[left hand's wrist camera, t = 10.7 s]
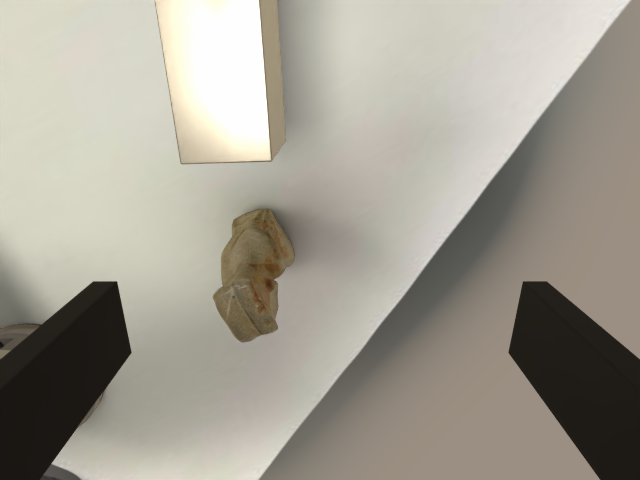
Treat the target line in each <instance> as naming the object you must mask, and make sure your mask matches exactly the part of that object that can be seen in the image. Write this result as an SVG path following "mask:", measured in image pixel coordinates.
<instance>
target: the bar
mask: <svg viewBox="0 0 640 480" xmlns="http://www.w3.org/2000/svg"><path fill="white" fill-rule="evenodd" d="M155 6H156V12H157V18H158V24H159V31H160V37H161V43H162V49H163V56H164V62H165V68H166V74H167V81H168V87H169V93H170V99H171V106H172V112H173V118H174V124H175V131H176V137H177V143H178V149H179V156H180V162H181V164H206V163H237V162H269V161H272V160H273V159H274V157H275V156H276V154H277V153H278V151H279V150H280V148H281V147H282V145H283V144H284V143H285V141H286V134H285V118H284V102H283V85H282V69H281V53H280V37H279V21H278V5H277V0H155Z"/></svg>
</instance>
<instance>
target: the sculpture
mask: <svg viewBox="0 0 640 480" xmlns="http://www.w3.org/2000/svg"><path fill="white" fill-rule="evenodd" d="M294 258H295V255H294V250H293V247H292V245H291V243H290V241H289V239H288V237H287V236H286V234H285V233H284V231H283V230H282V228H281V227H280V226H279V224H278V223H277V221H276V219H275V217H274V215H273V213H272V211H271V210H270V209H264V210H263V209H258V210H255V211H252V212H249V213H246V214H244V215H242V216H240V217H238V218H236V219H234V221H233V224H232V238H231V239H230V241H229V242H228V244H227V245H226V247H225V248H224V250H223V252H222V256H221V276H222V284H223V287H221V288H220V289H218V290H217V291H216V293H215V294H214V296H213V299H214V301H215V304H216V307H217V310H218V312H219V313H220V315H221V317H222V318H223V320H224V321H225V322H226V324H227V325H228V327H229V328H230V330H231V332H232V333H233V335H234V336H235V337H236V338H237V339H238V340H239V341H241V342H248V341H252V340H253V339H255V338H256V337H258V336H260V335H264V334H269V333H272V332H274V331H276V330H277V329H278V326H277V324H276V321H275V318H276V314H277V310H278V299H277V292H278V283H277V282H276V281H274V279H276V278H278V277H279V276H280V275H281V274H282V273H283V272H284V270H285V267H288V266H290V265H291V264H292V263H293V261H294Z"/></svg>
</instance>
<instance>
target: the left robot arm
mask: <svg viewBox="0 0 640 480" xmlns="http://www.w3.org/2000/svg"><path fill="white" fill-rule="evenodd" d="M130 354H131V348H130V343H129V338H128V333H127V328H126V323H125V319H124V314H123V309H122V304H121V299H120V294H119V289H118V284H117V282H92V283H91V284H90V285H89V286H87V287H86V288H85V289H84V290H83V291H81V292H80V293H79V294H78V295H77V296H75V297H74V298H73V299H72V300H71V301H69V302H68V303H67V304H66V305H65V306H63V307H62V308H61V309H60V310H59V311H57V312H56V313H55V314H54V315H53V316H52V317H50V318H49V319H48V320H47V321H46V322H44V323H43V324H42V325H41V326H39V325H31V324H19V325H12V326H8V327H4V328H2V329H0V480H40V479H41V477H42V476H43V474H44V473H45V472H46V470H47V469H48V467H49V466H50V465H51V463H52V462H53V461H54V459H55V458H56V456H57V455H58V454H59V452H60V451H61V449H62V448H63V447H64V445H65V444H66V443H67V441H68V440H69V438H70V437H71V436H72V434H73V433H74V431H75V430H76V429H77V428H78V427H79V426H80V425H82V424H83V423H84V422H85V421H86V420H87V419H88V418H89V417H90V416H91V414H92V413H93V411H94V410H95V409H96V407H97V406H98V404H99V402H100V401H101V398H102V395H103V391H104V390H105V389H106V387H107V386H108V384H109V383H110V382H111V380H112V379H113V378H114V376H115V375H116V373H117V372H118V371H119V369H120V368H121V366H122V365H123V364H124V362H125V361H126V360H127V358H128V357H129V355H130ZM509 354H510V355H511V357H512V358H513V360H514V361H515V362H516V364H517V365H518V366H519V368H520V369H521V371H522V372H523V373H524V375H525V376H526V378H527V379H528V380H529V382H530V383H531V384H532V386H533V387H534V389H535V390H536V391H537V393H538V394H539V396H540V397H541V398H542V400H543V401H544V402H545V404H546V405H547V407H548V408H549V409H550V411H551V412H552V413H553V415H554V416H555V418H556V419H557V420H558V422H559V423H560V425H561V426H562V427H563V429H564V430H565V431H566V433H567V434H568V436H569V437H570V438H571V440H572V441H573V443H574V444H575V445H576V447H577V448H578V449H579V451H580V452H581V454H582V455H583V456H584V458H585V459H586V461H587V462H588V463H589V465H590V466H591V467H592V469H593V470H594V472H595V473H596V474H597V476H598V477H599V479H600V480H640V359H639V358H637V357H636V356H635V355H634V354H633V353H631V352H630V351H629V350H628V349H627V348H626V347H624V346H623V345H622V344H621V343H620V342H618V341H617V340H616V339H615V338H614V337H612V336H611V335H610V334H609V333H608V332H606V331H605V330H604V329H603V328H602V327H600V326H599V325H598V324H597V323H596V322H594V321H593V320H592V319H591V318H590V317H588V316H587V315H586V314H585V313H584V312H583V311H581V310H580V309H579V308H578V307H577V306H575V305H574V304H573V303H572V302H571V301H569V300H568V299H567V298H566V297H565V296H563V295H562V294H561V293H560V292H559V291H557V290H556V289H555V288H554V287H553V286H551V285H550V284H549V283H548V282H523V284H522V289H521V294H520V299H519V304H518V309H517V314H516V319H515V323H514V328H513V333H512V338H511V343H510V348H509Z"/></svg>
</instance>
